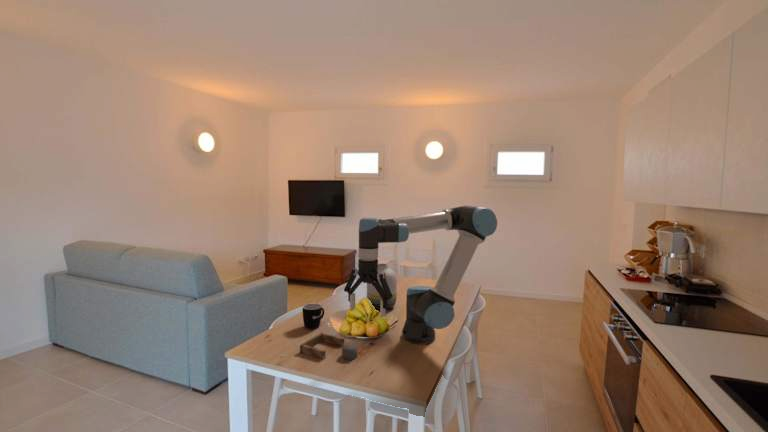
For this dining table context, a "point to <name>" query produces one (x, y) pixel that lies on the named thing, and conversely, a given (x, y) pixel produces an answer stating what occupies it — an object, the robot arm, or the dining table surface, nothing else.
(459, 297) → the dining table surface
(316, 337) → the corral
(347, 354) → the puck
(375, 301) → the vase
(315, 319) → the mug
